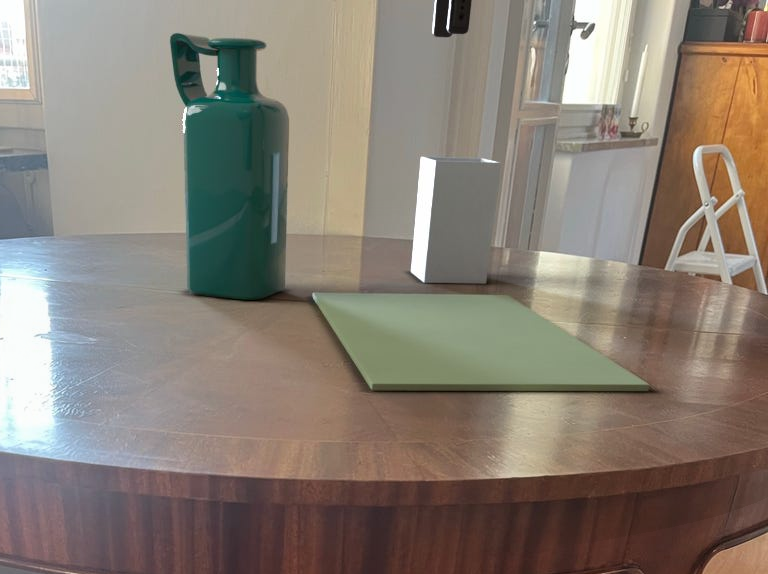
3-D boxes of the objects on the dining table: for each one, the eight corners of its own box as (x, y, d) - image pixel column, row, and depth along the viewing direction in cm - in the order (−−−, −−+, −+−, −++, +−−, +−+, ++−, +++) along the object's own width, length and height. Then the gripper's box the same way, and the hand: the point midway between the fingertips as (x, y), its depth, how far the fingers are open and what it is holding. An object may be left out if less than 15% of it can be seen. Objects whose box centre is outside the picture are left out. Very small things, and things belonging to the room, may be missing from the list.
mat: (507, 300, 97) (507, 294, 97) (648, 391, 68) (650, 384, 67) (312, 297, 95) (312, 292, 95) (371, 390, 66) (372, 383, 65)
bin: (469, 273, 111) (482, 158, 105) (486, 283, 105) (501, 162, 99) (410, 272, 110) (420, 156, 105) (424, 282, 104) (435, 160, 98)
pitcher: (291, 289, 99) (298, 38, 88) (258, 302, 92) (261, 32, 81) (206, 280, 102) (203, 37, 91) (168, 293, 95) (159, 31, 84)
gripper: (526, -175, 90) (501, 33, 99) (484, -144, 103) (465, 39, 111) (449, -180, 90) (430, 30, 98) (416, -148, 102) (402, 37, 110)
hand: (449, 34), depth 105 cm, fingers open, 6 cm apart
